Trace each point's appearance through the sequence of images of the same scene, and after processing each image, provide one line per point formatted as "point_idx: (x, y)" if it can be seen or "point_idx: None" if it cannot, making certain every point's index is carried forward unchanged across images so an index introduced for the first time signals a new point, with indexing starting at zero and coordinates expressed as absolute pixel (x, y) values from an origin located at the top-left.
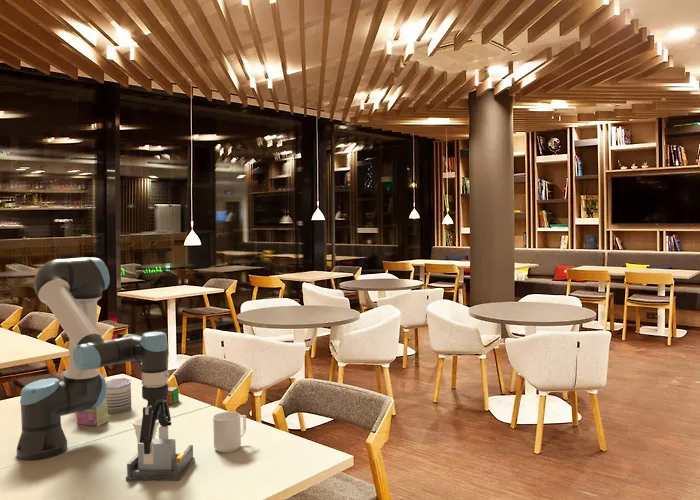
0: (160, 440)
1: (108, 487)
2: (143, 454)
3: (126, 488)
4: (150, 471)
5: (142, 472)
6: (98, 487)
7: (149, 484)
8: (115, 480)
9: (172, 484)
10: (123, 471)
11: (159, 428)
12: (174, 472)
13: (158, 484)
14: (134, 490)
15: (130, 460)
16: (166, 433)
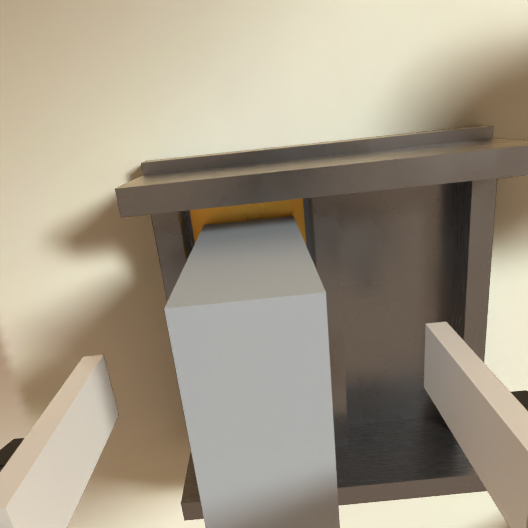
0: (296, 483)
1: (26, 97)
2: (48, 407)
3: (46, 224)
4: None
5: (167, 277)
6: (6, 21)
7: (127, 327)
8: (135, 85)
9: (152, 435)
10: (285, 59)
11: (521, 453)
12: (190, 461)
13: (137, 372)
14: (35, 284)
15: (186, 182)
16: (482, 473)
